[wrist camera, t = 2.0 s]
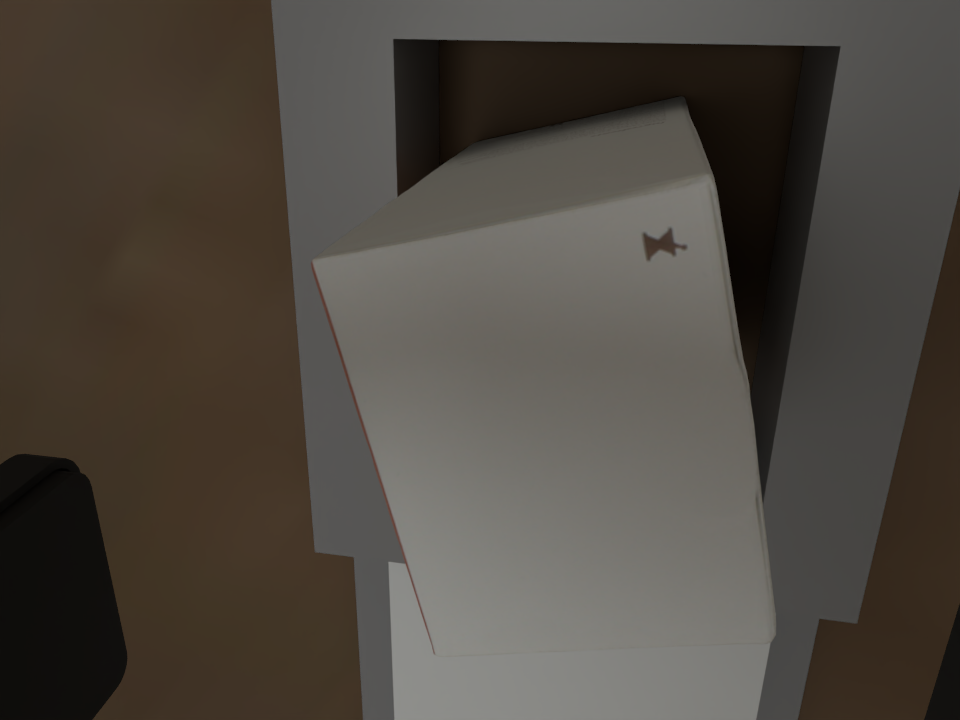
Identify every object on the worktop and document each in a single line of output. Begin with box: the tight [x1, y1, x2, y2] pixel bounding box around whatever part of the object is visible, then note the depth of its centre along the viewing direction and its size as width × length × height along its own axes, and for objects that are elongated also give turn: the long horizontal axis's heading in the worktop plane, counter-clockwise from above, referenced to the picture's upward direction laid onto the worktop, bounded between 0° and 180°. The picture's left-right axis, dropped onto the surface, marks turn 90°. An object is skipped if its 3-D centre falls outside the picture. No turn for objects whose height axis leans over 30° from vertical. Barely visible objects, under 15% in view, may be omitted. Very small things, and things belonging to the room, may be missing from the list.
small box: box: [311, 96, 776, 657], centre depth 19 cm, size 8×6×13 cm
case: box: [271, 0, 960, 720], centre depth 26 cm, size 16×34×4 cm, turn 0°
